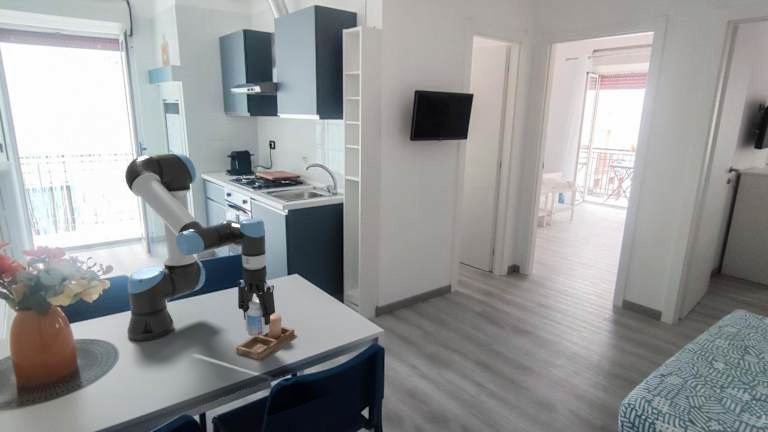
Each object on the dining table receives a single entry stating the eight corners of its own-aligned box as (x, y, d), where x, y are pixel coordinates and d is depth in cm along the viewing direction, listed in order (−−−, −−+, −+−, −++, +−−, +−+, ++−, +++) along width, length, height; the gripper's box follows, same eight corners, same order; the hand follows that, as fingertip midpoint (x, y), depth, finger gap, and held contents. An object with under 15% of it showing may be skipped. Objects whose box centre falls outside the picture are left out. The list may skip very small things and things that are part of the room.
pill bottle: (261, 338, 143) (260, 306, 141) (244, 336, 144) (243, 305, 142) (270, 330, 149) (268, 299, 147) (253, 328, 150) (252, 298, 148)
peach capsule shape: (264, 339, 155) (263, 318, 153) (273, 333, 159) (272, 313, 158) (276, 342, 153) (275, 321, 151) (284, 336, 157) (284, 315, 156)
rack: (234, 354, 146) (233, 346, 145) (270, 330, 163) (269, 323, 162) (262, 363, 141) (262, 355, 141) (296, 337, 158) (296, 330, 158)
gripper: (223, 265, 142) (227, 329, 147) (270, 273, 135) (273, 341, 139) (239, 258, 149) (243, 321, 154) (285, 266, 141) (287, 331, 146)
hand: (257, 330), depth 146 cm, fingers closed on pill bottle, 6 cm apart
